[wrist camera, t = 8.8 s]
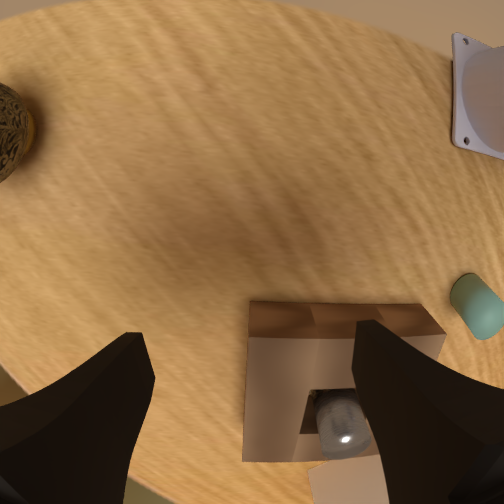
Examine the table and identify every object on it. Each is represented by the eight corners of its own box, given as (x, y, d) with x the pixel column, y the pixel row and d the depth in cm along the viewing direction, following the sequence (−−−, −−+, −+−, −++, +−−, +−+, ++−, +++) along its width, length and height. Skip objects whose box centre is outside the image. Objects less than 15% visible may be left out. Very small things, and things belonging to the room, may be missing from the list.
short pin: (470, 266, 19) (497, 293, 15) (487, 288, 19) (513, 315, 16) (443, 295, 20) (465, 327, 16) (461, 315, 21) (483, 346, 17)
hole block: (421, 303, 20) (446, 334, 16) (378, 419, 24) (390, 452, 20) (249, 301, 20) (248, 337, 16) (243, 424, 24) (242, 461, 20)
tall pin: (337, 351, 21) (362, 424, 15) (352, 376, 22) (377, 446, 16) (300, 370, 22) (313, 445, 15) (317, 393, 23) (332, 464, 16)
